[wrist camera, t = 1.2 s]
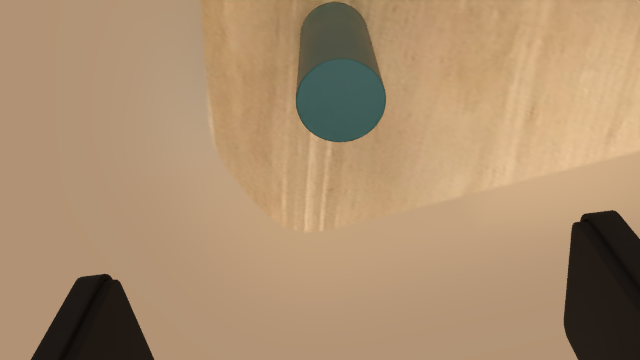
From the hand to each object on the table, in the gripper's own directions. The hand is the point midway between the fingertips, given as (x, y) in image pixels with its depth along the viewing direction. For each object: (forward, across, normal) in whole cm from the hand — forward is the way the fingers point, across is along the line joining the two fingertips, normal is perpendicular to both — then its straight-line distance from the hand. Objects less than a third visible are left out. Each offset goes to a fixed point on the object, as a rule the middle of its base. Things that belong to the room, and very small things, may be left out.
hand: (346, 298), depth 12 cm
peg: (+18, 0, 0) cm, 18 cm away
